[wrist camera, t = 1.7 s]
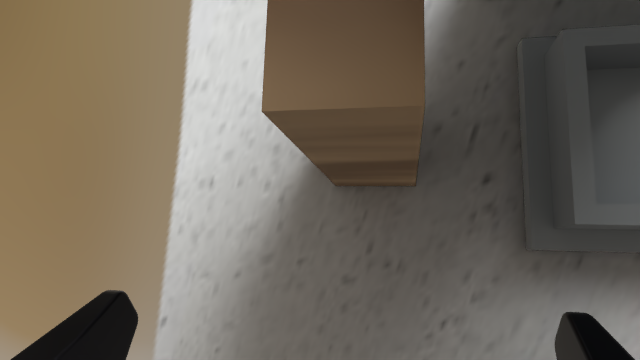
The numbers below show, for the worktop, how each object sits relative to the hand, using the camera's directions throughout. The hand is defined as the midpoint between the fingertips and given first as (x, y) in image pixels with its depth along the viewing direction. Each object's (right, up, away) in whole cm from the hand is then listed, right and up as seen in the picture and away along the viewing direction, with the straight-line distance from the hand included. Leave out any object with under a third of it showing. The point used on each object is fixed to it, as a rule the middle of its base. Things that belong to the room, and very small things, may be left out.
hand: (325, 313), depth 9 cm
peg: (+3, +4, +14) cm, 14 cm away
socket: (+14, +4, +11) cm, 19 cm away
